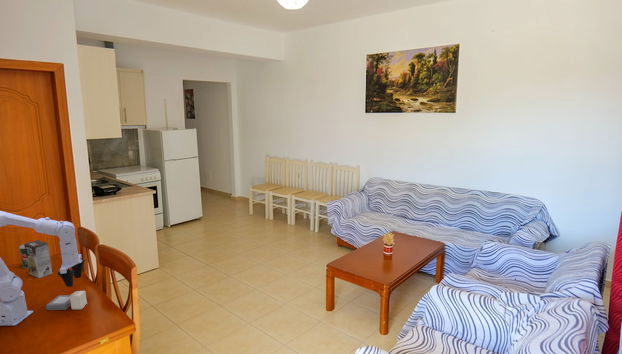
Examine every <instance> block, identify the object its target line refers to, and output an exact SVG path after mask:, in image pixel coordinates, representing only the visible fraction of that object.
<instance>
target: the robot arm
mask: <svg viewBox="0 0 622 354" xmlns="http://www.w3.org/2000/svg"><path fill="white" fill-rule="evenodd" d="M7 225H9V226H18V227H24V228H31V229H34V231H35V232H36V233H40V234H45V235H49V236H57V237H58V238H59V248H60V254H61V261H62V263H61V267H60V268H59V271H58V272H57V275H58V276H59V277H60V278H61V279H62V281H63V283H64V285H65V287H66V288H71V287H74V278H75V279H81V277H82V273H83V268H84V264H85V259H82V254H81V253H79V251H78V243H77V239H76V231H75V229H76V227H75V225H74V223H73V222H70V221H68V220H65V221H64V220H60V221H59V220H54V219H50V217H47V216H46V217H45V218H44V217H40V218H38V219H34V218H31V217H27V216H23V215H18V214H14V213H9V212H7V211H3V210H0V228H1V227H5V226H7ZM71 269H72V270H71ZM23 283H24V282H23V280H22V278H20V277H19V276H17V275H16V274H15V273H14V272H13V271H10V270H9V268H8V266H7V264H6V263H5V262H4V260H3V259H2V258H1V256H0V326H17V325H18V324H20V323H21V322H22V321H23V320H25V319H26V318H28V317H30V315H31V314H33V313H34V310H28V307H27V303H26V302H27V301H26V297H25V292H24V291H23V290H22V287H23V285H24V284H23Z"/></svg>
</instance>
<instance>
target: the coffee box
mask: <svg viewBox="0 0 622 354" xmlns="http://www.w3.org/2000/svg"><path fill="white" fill-rule="evenodd" d="M23 245H24V246H25V251H26V257H27V262H28V268H27V269H28V274H29V275H30V276H33V277H36V278H38V279H40V278H43V277H47V276H49V275H52V274H53V269H52V261H51V254H50V247H49V243H48V242H45V241H42V240H40V239H37V240H34V241H29V242H26V243H24V244H23Z"/></svg>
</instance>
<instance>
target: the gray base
mask: <svg viewBox="0 0 622 354" xmlns="http://www.w3.org/2000/svg"><path fill="white" fill-rule="evenodd" d="M70 295H71V294H69V295H67V294H66V295H64V294H63V295H62V294H61V295H60V294H59V295H57V296H56V297H55V298H54V299H52V300H51V301H49V302H48V303H46V305H45V308H46V311H66V310H68V309H69V308H70V307H71V302H70Z"/></svg>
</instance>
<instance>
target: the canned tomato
mask: <svg viewBox="0 0 622 354" xmlns="http://www.w3.org/2000/svg"><path fill="white" fill-rule="evenodd" d="M18 248H19V254H20V258H21V264H22V268H23V269H29V268H28V262H27V257H26V251H25V246H24V244H21V245H19V247H18Z"/></svg>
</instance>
